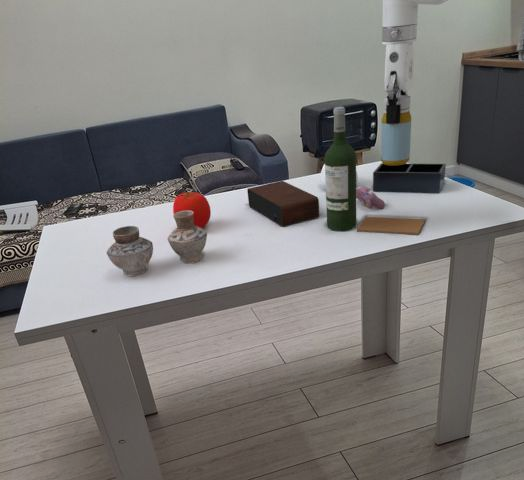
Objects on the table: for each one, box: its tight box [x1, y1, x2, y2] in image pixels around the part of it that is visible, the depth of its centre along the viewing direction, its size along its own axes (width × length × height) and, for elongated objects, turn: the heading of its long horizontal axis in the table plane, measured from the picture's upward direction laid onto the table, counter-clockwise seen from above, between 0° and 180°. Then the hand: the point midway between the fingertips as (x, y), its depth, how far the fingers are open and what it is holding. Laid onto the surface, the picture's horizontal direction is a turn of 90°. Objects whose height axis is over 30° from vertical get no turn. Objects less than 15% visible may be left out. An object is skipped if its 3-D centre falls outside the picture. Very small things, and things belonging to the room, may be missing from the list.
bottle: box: [380, 94, 412, 166], centre depth 131 cm, size 7×7×15 cm
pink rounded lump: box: [356, 185, 386, 210], centre depth 156 cm, size 10×5×7 cm, turn 22°
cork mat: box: [356, 215, 426, 236], centre depth 142 cm, size 16×10×1 cm, turn 66°
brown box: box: [246, 180, 320, 228], centre depth 159 cm, size 24×12×6 cm, turn 25°
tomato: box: [172, 191, 212, 229], centre depth 153 cm, size 10×11×11 cm
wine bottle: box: [324, 106, 357, 232], centre depth 138 cm, size 8×8×30 cm
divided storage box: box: [372, 162, 447, 194], centre depth 167 cm, size 20×10×6 cm, turn 66°
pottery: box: [106, 210, 208, 277], centre depth 133 cm, size 11×25×12 cm, turn 109°
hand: (396, 119), depth 129 cm, fingers closed on bottle, 7 cm apart
